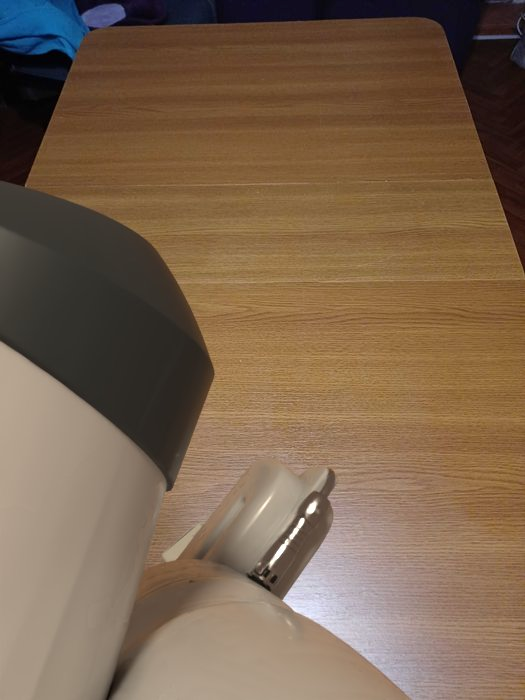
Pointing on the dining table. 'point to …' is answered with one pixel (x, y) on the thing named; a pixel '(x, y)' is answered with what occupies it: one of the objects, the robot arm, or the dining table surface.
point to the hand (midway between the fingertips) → (154, 609)
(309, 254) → the dining table surface
